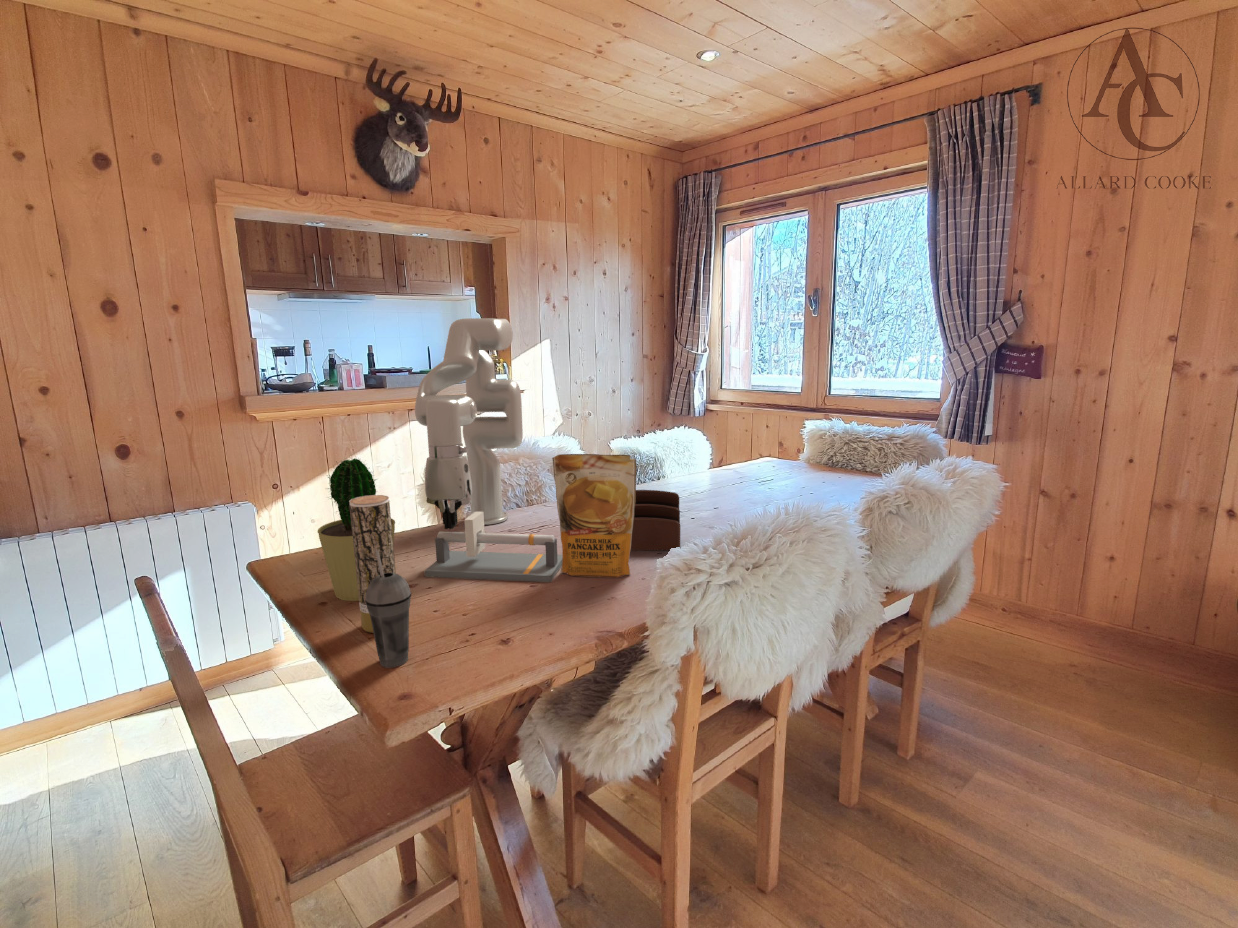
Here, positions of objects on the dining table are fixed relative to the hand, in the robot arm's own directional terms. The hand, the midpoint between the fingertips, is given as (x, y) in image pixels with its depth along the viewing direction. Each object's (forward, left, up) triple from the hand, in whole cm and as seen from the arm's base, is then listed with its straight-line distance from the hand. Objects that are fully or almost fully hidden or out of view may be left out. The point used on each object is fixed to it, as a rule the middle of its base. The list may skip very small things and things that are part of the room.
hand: (450, 527), depth 145 cm
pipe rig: (0, +11, -10) cm, 15 cm away
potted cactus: (+16, -14, -10) cm, 23 cm away
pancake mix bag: (0, +35, -10) cm, 36 cm away
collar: (0, +6, -6) cm, 8 cm away
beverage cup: (+44, +8, -10) cm, 46 cm away
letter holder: (-22, +44, -10) cm, 50 cm away
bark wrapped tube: (+32, -1, -10) cm, 33 cm away
